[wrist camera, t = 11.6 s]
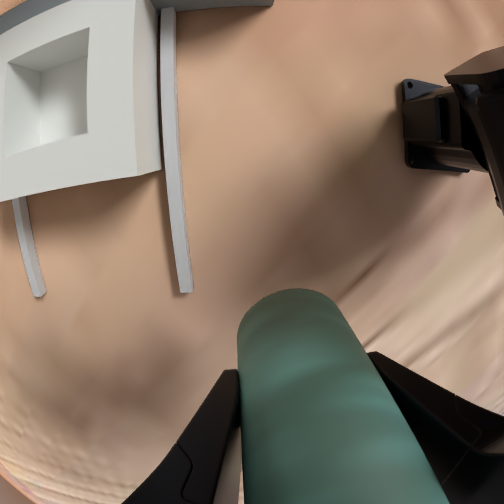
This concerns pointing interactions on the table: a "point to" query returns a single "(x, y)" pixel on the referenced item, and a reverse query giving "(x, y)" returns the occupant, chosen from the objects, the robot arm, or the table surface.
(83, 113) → the socket block
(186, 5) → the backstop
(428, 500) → the dowel
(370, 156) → the table surface
